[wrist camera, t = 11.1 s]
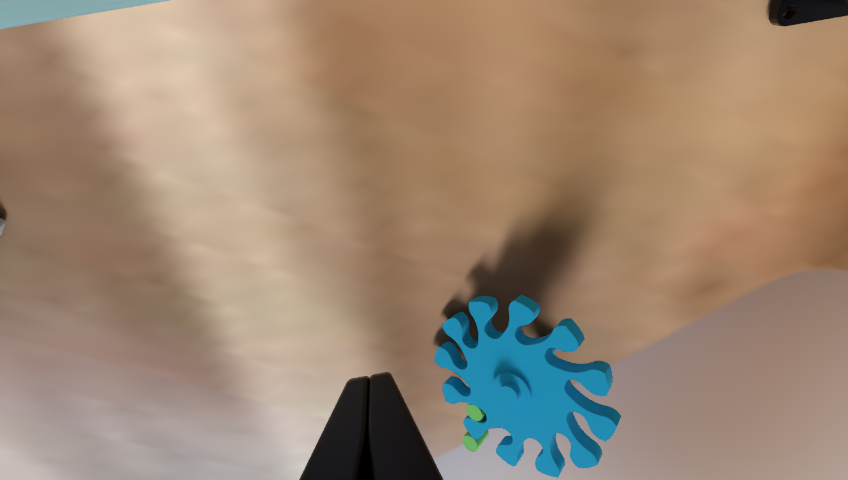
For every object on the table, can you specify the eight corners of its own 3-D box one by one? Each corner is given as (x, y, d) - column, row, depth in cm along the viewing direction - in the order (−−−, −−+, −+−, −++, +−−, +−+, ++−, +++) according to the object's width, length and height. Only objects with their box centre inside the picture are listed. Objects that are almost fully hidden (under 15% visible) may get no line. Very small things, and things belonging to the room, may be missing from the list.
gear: (484, 262, 20) (666, 429, 17) (534, 231, 25) (685, 359, 22) (397, 382, 27) (518, 520, 23) (449, 340, 31) (556, 451, 28)
